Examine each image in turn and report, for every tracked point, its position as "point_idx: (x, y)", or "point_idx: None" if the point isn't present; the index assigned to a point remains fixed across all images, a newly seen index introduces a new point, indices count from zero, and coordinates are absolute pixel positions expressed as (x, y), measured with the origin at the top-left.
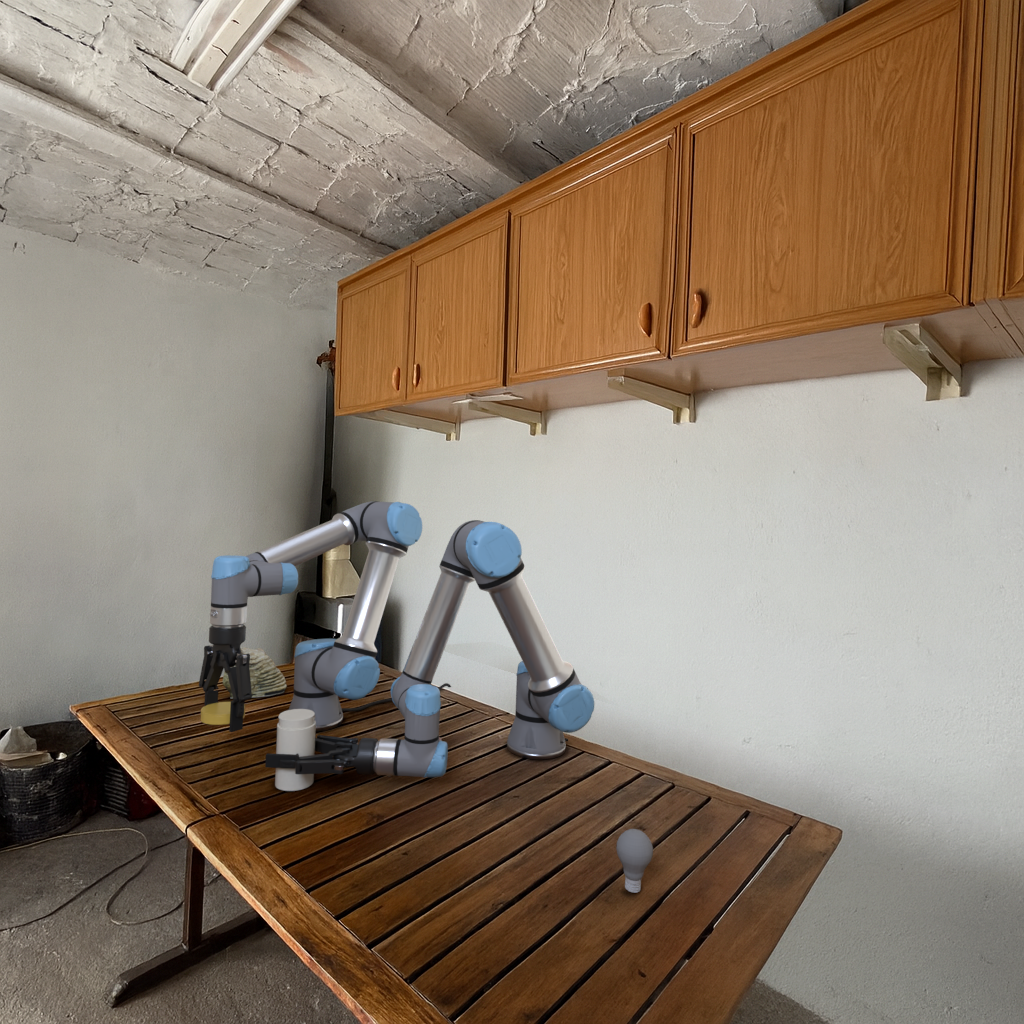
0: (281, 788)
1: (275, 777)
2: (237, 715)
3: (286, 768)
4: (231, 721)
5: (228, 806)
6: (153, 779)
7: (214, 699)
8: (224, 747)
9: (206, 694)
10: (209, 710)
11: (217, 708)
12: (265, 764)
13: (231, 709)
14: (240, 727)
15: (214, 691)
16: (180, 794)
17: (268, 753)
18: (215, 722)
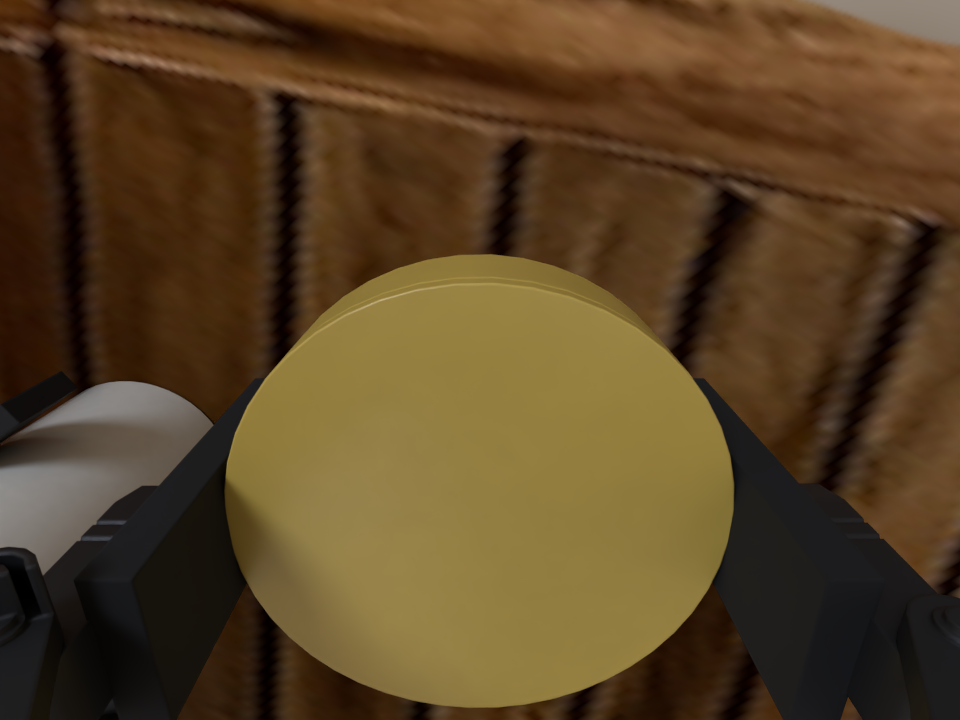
0: (101, 385)
1: (144, 407)
2: (136, 497)
3: (3, 442)
4: (220, 426)
5: (104, 117)
6: (730, 33)
7: (742, 590)
8: None
9: (834, 565)
10: (519, 380)
11: (517, 481)
12: (48, 378)
13: (164, 506)
14: None
15: (814, 687)
16: (424, 26)
17: (13, 427)
18: (326, 311)
